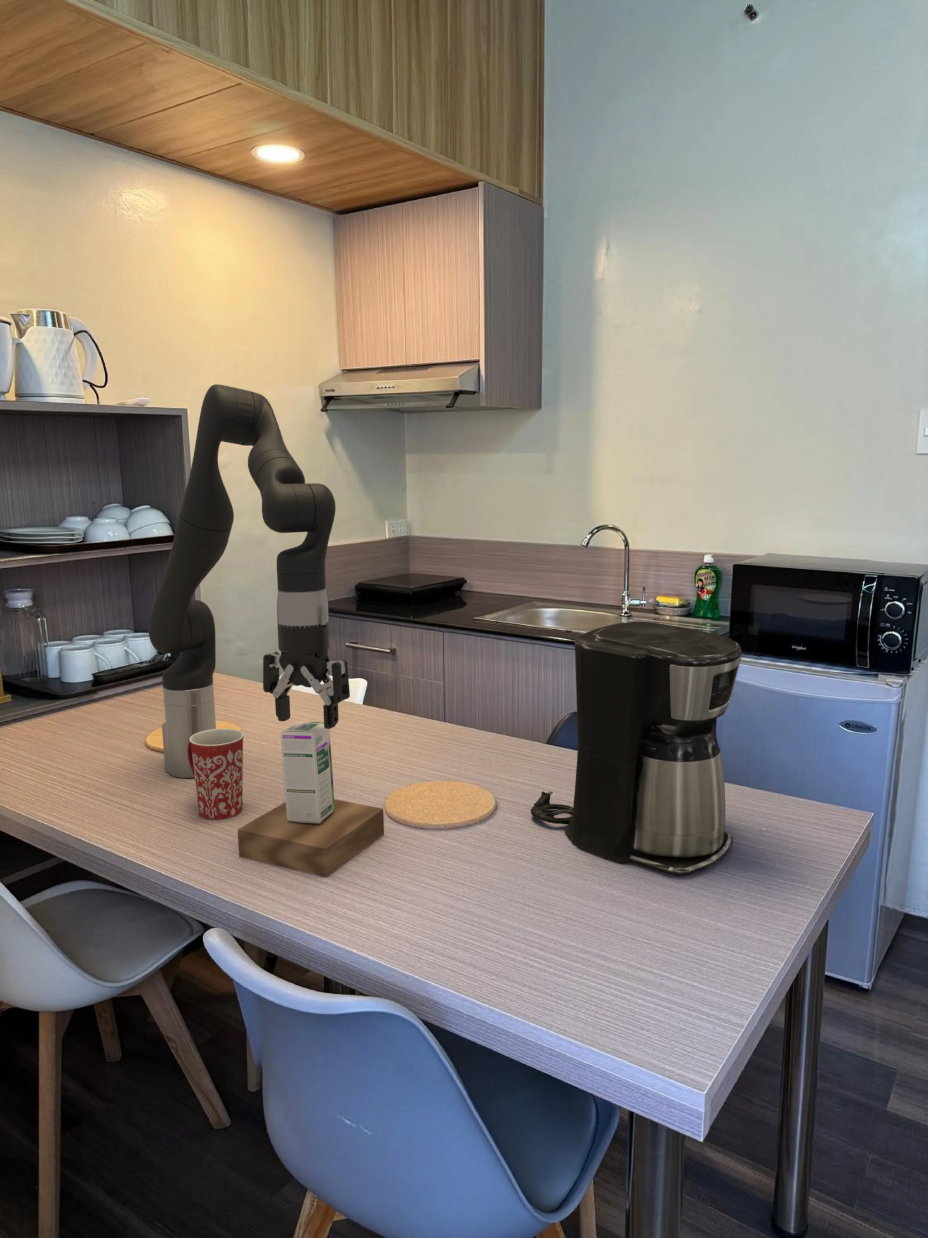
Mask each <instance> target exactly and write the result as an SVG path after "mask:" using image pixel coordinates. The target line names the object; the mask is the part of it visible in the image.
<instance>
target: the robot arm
mask: <svg viewBox="0 0 928 1238" xmlns="http://www.w3.org/2000/svg"><path fill="white" fill-rule="evenodd" d="M222 442H223V443H229V444H234V445H239V446H244V447H245V446H246V447H247V446H249V447H250V446H252V448H251V449H250V451H249V453H248V455H247V456H248V458H247V468H248V472H249V474H250V477H251V478H252V480H253V482H254V483H255V486H256V487H257V489H258V490H259V492H260V497H261V514H262V515H261V516H262V519H263V523H264V524H265V526H266V527H268V529H270V530H271V531H273V532H275V533H280V534H291V533H306V536H305V538H304V540H303V542H302V543H301V544H299V545H297V546H295V547H291V548H287V549H284V550H282V551H279V553H277V556H276V577H277V578H276V579H277V580H276V581H277V584H276V585H277V597H276V598H277V599H276V600H277V601H276V620H277V622H276V623H277V641H278V644H277V645H278V650H279V651H280V652H281V653H279V652H278V651H273V652H270V653H267V654H265V655H263V657H262V660H263V661H262V662H263V663H262V666H263V667H262V689H263V691H264V692H265V693H269V694H271V695H272V696H273V697H274V702H275V703H274V706H275V709H274V710H275V715H276V718H277V721H279V722H286V721H288V720H290V718H291V701H290V700H291V699H290V695H288V694H289V693H290V691H291V690H292V688H293V687H294V686H296V687H298V686H303V687H305V688H308V689H309V688H312V689H313V691H314V692H315V694H317V695H319V697H320V698H321V700H322V701H323V702H324V704H323V706H322V707H323V722H324V728H325V729H332V728H335V727H336V725H337V724H338V722H339V703H341V702H344V701H345V700H348V699H349V698H350V697H351V693H350V691H351V690H350V681H349V679H350V678H349V669H348V667H349V666H348V661H347V660H345V659H342V660H330V657H329V654H328V653H329V648H330V628H329V627H330V626H329V624H330V623H329V621H330V620H329V602H328V596H327V588H326V557H327V551H328V546H329V542H330V541H329V540H330V537H331V532H332V529H333V524H334V521H335V517H336V499H335V497H334V494H333V492H332V490H330V489H329V487H328V486H327V485H325V484H322V483H317V482H315V483H313V482H311V483H306V477H305V475H304V472H303V470H302V469H301V467H300V466H299V465H298V463H297V462H296V460H295V459H294V457H293V456H292V454H291V453H290V451H289V450H288V448H287V446H286V444H285V441H284V439H283V435H282V431H281V429H280V425H279V422H278V420H277V417H276V414H275V413H274V409H273V407H272V405H271V403H270V401H269V400H268V399H267V398H266V396H264V395H263V394H260V393H259V392H255V391H252V390H251V391H250V390H249V389H248V390H247V389H242V388H239V387H233V386H229V385H224V384H218V383H215V384H212V385H211V386H210V387H209V388H208V389H207V391H206V392H205V395H204V398H203V401H202V404H201V409H200V414H199V417H198V424H197V431H196V439H195V444H194V450H193V456H192V460H191V461H192V462H191V468H190V472H189V476H188V477H189V478H188V481H187V483H186V484H187V485H186V487H185V492H184V496H183V499H182V502H181V507H180V511H179V513H178V518H177V522H176V527H175V530H174V531H175V532H174V536H173V540H172V541H173V543H172V545H171V549H170V553H169V557H168V561H167V564H166V569H165V572H164V575H163V578H162V581H161V584H160V587H159V589H158V592H157V596H156V597H155V600H154V603H153V605H152V609H151V612H150V615H149V620H148V637H149V641H150V643H151V645H152V647H153V649H155V650H156V651H157V652H159V653H161V654H165V655H166V654H168V655H169V654H177V653H180V654H179V656H178V658H177V659H176V660H175V661H174V662H173V664H171V665H170V666H169V667H167V668H166V669H165V670H164V671H163V673H162V677H161V681H162V682H161V683H162V691H163V692H162V693H163V706H164V718H165V722H164V723H163V724H162V725H161V730H162V731H161V732H162V745H163V758H164V771H165V772H166V773H167V772H168V773H169V774H170V775H171V776H172V777H176V778H181V779H182V778H184V779H185V778H186V779H188V778H189V779H191V778H195V777H194V775H193V772H192V770H191V767H190V764H189V759H188V752H187V749H188V743H189V739H190V737H191V736H192V735H194V734H196V733H198V732H202V731H206V730H211V729H217V724H216V723H217V722H216V710H215V709H216V706H215V693H214V673H215V670H216V664H217V663H216V662H217V661H216V660H217V659H216V658H217V657H216V653H217V652H216V649H217V647H216V644H217V643H216V625H215V619H214V618H215V617H214V615H213V612H212V610H211V608H210V607H209V606H208V604H207V603H205V602H204V601H203V600H199V599H193V600H192V598H193V597H194V594H195V592H196V590H197V589H198V587H199V586H200V584H201V583H202V582H203V580H205V578H206V577H207V576H208V575H209V574H210V572H211V571H212V570H213V568H215V566H216V565H217V563H218V562H219V561H220V559H221V558H222V557H223V555H224V553H225V551H226V548H227V546H228V543H229V539H230V534H231V531H232V528H233V525H234V517H235V514H234V508H233V505H232V502H231V499H230V496H229V494H228V491H227V489H226V487H225V484H224V482H223V479H222V478H223V477H222V476H221V471H220V467H219V450H220V445H221V443H222ZM280 667H281V669H282V670H283V673H282V675H281V676H280ZM330 675H331V676H330ZM322 683H323V684H322Z"/></svg>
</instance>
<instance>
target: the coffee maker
mask: <svg viewBox="0 0 928 1238" xmlns="http://www.w3.org/2000/svg"><path fill="white" fill-rule="evenodd" d="M741 659H742V647H741V646H740V644H739V643H738V642H737V641H735V640H733V639H731V638H729V637H727V636H723V635H719V634H717V633H712V632H709V631H703V630H698V629H693V628H688V627H682V626H677V625H672V624H671V625H670V624H665V623H659V622H651V621H643V620H641V621H639V620H636V621H627V622H619V623H613V624H609V625H606V626H602V627H597V628H594V629H592V630H589V631H587V632H585V633H582V634H580V635H578V636H577V637H576V638H575V642H574V661H575V662H574V664H575V687H576V688H575V689H576V691H575V693H576V719H577V720H576V722H577V752H576V753H577V755H576V766H575V767H576V768H575V769H576V770H575V782H574V796H573V797H574V798H573V806H571V805H568V804H560V803H551V802H550V801H551V795H553V793H554V792H553V791H548V792H546V791H541V795H540V796H539V798H538V799H537V800H536V802H535V803H533V806H532V807H531V808H530V815H531V816H532V817H533V818H535V819H538V820H541V821H542V822H546V823H550V824H553V825H554V824H556V825H567V826H566V829H565V831H564V834H565V835H566V836H567V838H568V840H570V841H571V842H572V843H573V844H575V846H576V847H578V848H581V849H583V850H585V851H587V852H590V853H593V854H595V855H597V856H600V857H602V858H604V859H607V860H609V861H612V862H615V863H618V864H622V865H624V864H633V865H636V866H639V867H642V868H646V869H650V870H652V871H656V872H659V873H662V874H667V875H670V876H673V877H674V876H675V877H684V876H690V875H692V874H696V873H699V872H701V871H705V870H706V869H708V868H709V867H711V866H714V865H715V864H716V863H718V862H719V861H720V860H721V859H723V857H726V855H727V853H728V852H729V851H730V849H731V848H732V845H733V841H734V837H733V836H732V834H730V832H729V831H726V830H725V828H726V827H725V824H726V787H725V786H726V785H725V775H724V764H723V758H722V750H721V749H720V746H719V741H718V737H717V732H716V728H715V723H716V720H717V719H718V718H719V717H721V716H723V715H724V714H725V713H726V712H727V709H728V708H729V704H730V702H731V700H732V699H731V698H732V695H733V691H734V688H735V684H736V681H737V676H738V673H739V672H738V671H739V667H740V665H741ZM548 810H550V811H551V812H547V813H546V812H545V811H548ZM552 810H555V811H552ZM562 814H571V816H567V817H555V816H559V815H562Z"/></svg>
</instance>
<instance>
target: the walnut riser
mask: <svg viewBox="0 0 928 1238" xmlns="http://www.w3.org/2000/svg"><path fill="white" fill-rule="evenodd" d="M334 802H335V810H334V811H333V812H332V813H331V814H330V815H328V816H327V817H326V818H325V819H324V820H322V822H321V823H303V822H294V821H288V820H287V813H286V801H285V802H283V803H281V804H280V805H277V806H276V807H274V808H273V809H271V810H269V811H268V812H266V813H264V814H261V816H258V817H257V818H255V819H253V820H251V821H250V822H248V823H246V824H245V825H242V826H241V827H239V828H238V829H237V839H238V840H237V841H238V857H239V858H243V859H246V860H251V861H254V862H255V861H256V862H260V863H265V864H268V865H272V866H276V867H280V868H281V867H282V868H286V869H289V870H294V871H298V872H301V873H305V874H306V873H307V874H311V875H315V876H318V875H320V877H324V878H328V877H330V876H331V875H332V874H334V873H335V872H336V871H337V870H339V869H340V868H342V867H343V866H344V865H345V864H347V863H348V862H349V861H351V860H353V858H354V857H356V856H358V855H359V854H360V853H361V852H363V851H365V850H366V849H367V848H369V847H370V846H371V845H372V844H374V843H375V842H376V841H378V840H379V839H381V838H382V837H383V836H384V835H385V822H384V820H385V819H384V817H385V816H384V808H382V807H378V806H377V807H376V806H372V805H371V806H370V805H366V804H362V803H361V804H360V803H356V802H352V801H351V802H350V801H346V800H340V799H336V798H334ZM342 865H343V866H342ZM330 874H331V875H330Z"/></svg>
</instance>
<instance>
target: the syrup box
mask: <svg viewBox="0 0 928 1238" xmlns="http://www.w3.org/2000/svg"><path fill="white" fill-rule="evenodd" d="M330 732H331V731H330V729H325V728H324V721H323V722H321V721H296V722H295V724H293V725H291V726H289V727H287V728H286V729H284V730H282V731H280V734H279V735H280V745H281V759H282V772H283V784H284V797H285V800H284V801H285V802H286V813H287V820H288V821H294V822H303V823H321V822H322V820H324V819H325V818H326V817H327V816H328V815H330V814H331V813H332V812H333V811H334V810H335V802H334V799H335V791H334V788H335V787H334V776H333V775H334V774H333V762H332V758H333V757H332V746H331V733H330Z"/></svg>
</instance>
